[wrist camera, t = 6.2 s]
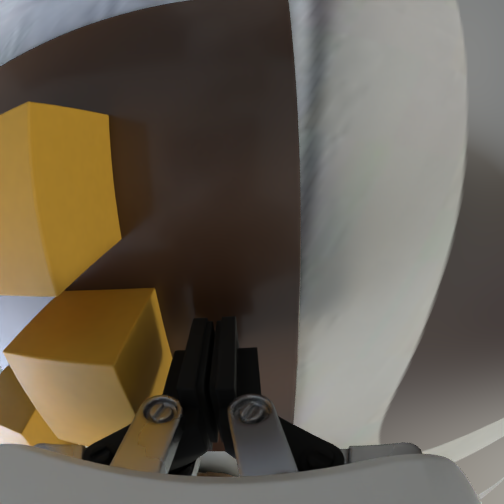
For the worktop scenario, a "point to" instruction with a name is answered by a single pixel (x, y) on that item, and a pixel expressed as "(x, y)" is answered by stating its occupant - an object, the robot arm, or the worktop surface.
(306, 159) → the worktop surface
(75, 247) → the ochre block
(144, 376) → the ochre block
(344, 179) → the worktop surface
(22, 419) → the ochre block
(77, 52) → the mat
